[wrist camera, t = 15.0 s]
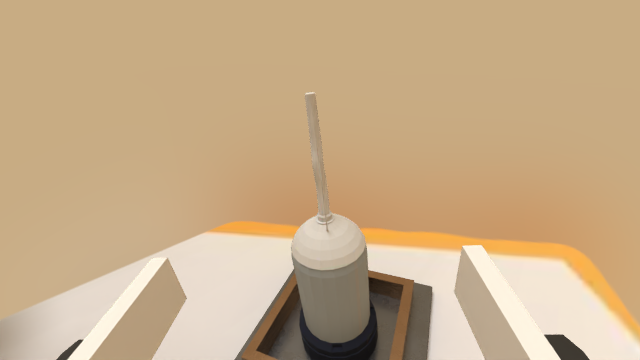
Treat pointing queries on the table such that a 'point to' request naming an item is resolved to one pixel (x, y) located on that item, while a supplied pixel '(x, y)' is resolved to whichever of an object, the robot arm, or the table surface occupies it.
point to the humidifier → (332, 274)
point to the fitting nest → (391, 311)
